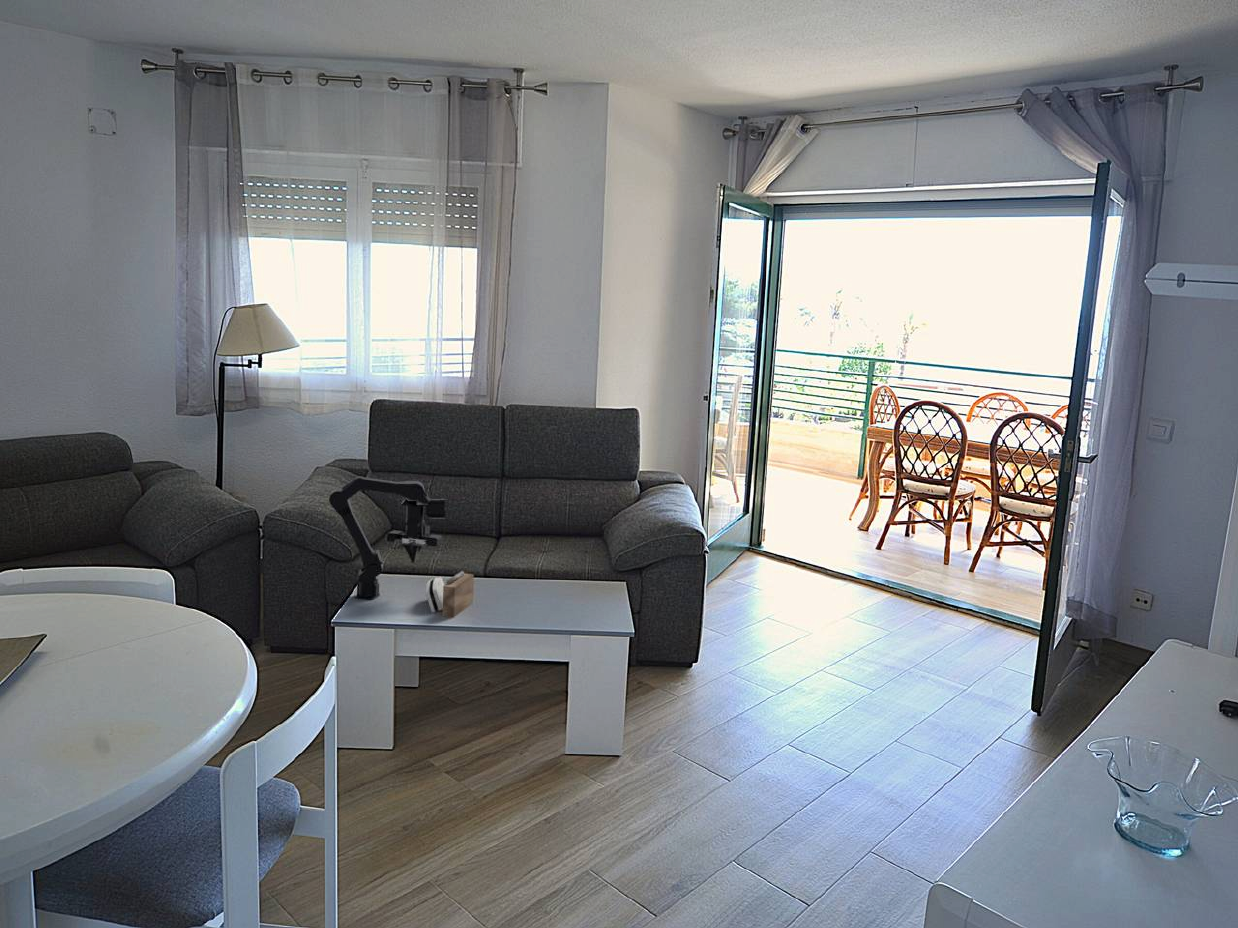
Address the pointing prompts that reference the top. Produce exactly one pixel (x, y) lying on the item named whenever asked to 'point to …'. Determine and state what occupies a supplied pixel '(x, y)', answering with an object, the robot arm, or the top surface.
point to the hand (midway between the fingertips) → (413, 562)
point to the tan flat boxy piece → (457, 594)
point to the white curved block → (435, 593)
